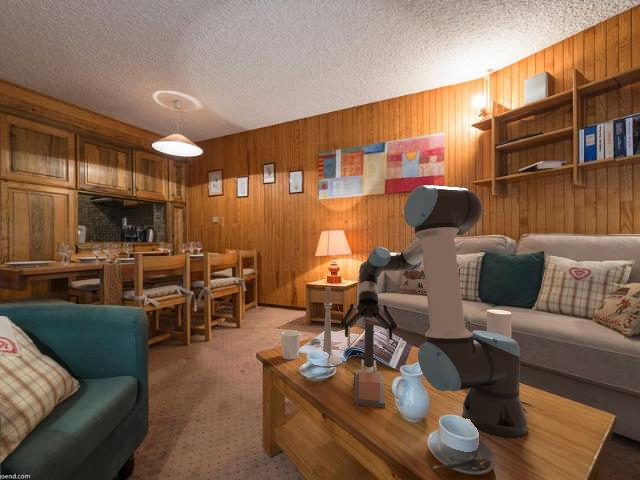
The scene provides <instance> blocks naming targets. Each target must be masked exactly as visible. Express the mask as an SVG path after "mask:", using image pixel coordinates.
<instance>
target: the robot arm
mask: <svg viewBox="0 0 640 480" xmlns="http://www.w3.org/2000/svg"><path fill="white" fill-rule="evenodd" d="M403 210H404V211H403V217H404V220H405V223H406V224H407V226H409V227H411V228H413V230H414V237H416V239H414V240H413V242H411V243H410V244H409V245H408V246H407V247H406V248H405V249H403V250H402V251H398V252H397V251H396V252H395V251H394V252H393V251H389V249H387V248H386V247H383V246H376V247H374V248H373V249H372V250H371V252H370V253H369V254H368V257H367V260H366V261H364V262H363V263H361V264H360V265H359V271H358V273H359V274H358V275H359V276H358V277H359V281H358V283H359V284H358V304H357V305H355V304H354V303H350V305H349V309H348V310H347V312H346V313H345V315H344V317H343V318H342V319H341V321H340V328H342V329H344V337H345V338H347V345H346V346H347V348H350V347H351V331H352V330H351V327H352V326H353V325H354V324H355V323H357V321H359V319H362V317H363V318H371V319H373V318H374V319H376V320H377V321H378V322H379V323H380V324H381V326H383V327H384V328H385V330H386V331H385V334H386V338H385V339H386V350H388V351H389V350H390V346H391V345H390V344H391V343H390V341H391V340H392V339H393V331H394V332H396V331H397V328H398V326H397V323H396V322H395V320H394V319H393V317H392V315H391V314H390V312H389V311H388V307H387V305H386V304H384V305H383V306H380V305H379V289H378V288H379V287H378V286H379V285H378V284H379V277H380V276H381V274H382V273H383V272H396V271H397V272H400V271H401V272H412V271H417V270H419V269H420V268H421V266H422V261H423V270H424V271H423V272H424V279H425V280H424V281H425V290H426V297H427V298H426V299H427V309H428V318H429V319H428V320H429V325H430V327H429V329H428V330H427V331H426V332H425V335H424V336H425V342H424V343H422V344H420V346H419V350H417V360H418V365H419V369H420V370H421V373H422V375H423V377H424V378H425V379H426V381H427V383H428V384H429V385H430V386H431V387H433V388H434V389H435V390H437V391H441V392H459V391H460V390H466V389H468V390H467V392H466V395H465V398H464V400H463V403H462V416H463V418H464V419H465V418H467V419H470V420H471V422H472V423H473V424H474V425H475V426H476V427H477V429H479V430H481V431H482V432H485V433H488V434H491V435H494V436H497V437H502V438H519V437H522V436H525V435H526V434H527V432H528V419H527V418H528V417H527V416H526V415H527V414H526V412H525V410H524V406H523V404H522V401H521V398H520V386H521V385H520V382H521V381H520V377H521V374H520V372H521V370H520V369H521V354H520V353H521V352H520V344H519V343H518V342H517V340H515V339H514V338H512V337H511V338H509V337H507V336H504V335H500V334H496V333H492V332H487V330H478V329H477V330H472V331H470V330H469V329H468V328H466V323H465V315H464V314H465V313H464V306H463V298H462V289H461V284H460V275H459V268H458V267H459V266H458V259H457V251H456V244H455V237H457V236H460V237H461V236H464V235H465V234H466V233H468V232H469V231H471V230H472V229H473V228H474V227H476V225H477V224H478V223H479V221H480V219H481V217H482V214H483V204H482V201H481V199H480V198H479V196H478V195H477V194H476V193H475V192H474V191H472V190H470V189H468V188H464V187H449V186H439V185H433V184H431V185H419V186H417V187H415V188H414V189H412V191H411V192H410V193H409V195H408V197H407V199H406V201H405V204H404V209H403ZM356 310H357V312H356ZM379 311H381V313H382V314H383V315H384V317H385V318H386V319H385V318H384V317H383V316H382V315H381V314H380V312H379ZM354 312H356V314H354V316H352V315H353V313H354ZM351 316H352V318H351ZM475 426H474V427H475ZM476 427H475V428H476Z"/></svg>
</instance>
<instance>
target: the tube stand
mask: <svg viewBox="0 0 640 480" xmlns="http://www.w3.org/2000/svg"><path fill="white" fill-rule="evenodd" d="M364 361H365V359H361V367H360V368H361V369H355V378H354V379H355V380H354V381H355V383H354V394H353V405H355V406H364V407H365V406H366V407H378V408H386V400H385V392H384V384H383V377H382V375H383V374H382V371H377V360H376V359H375V360H374V359H373V370H374V373H367V372H364Z"/></svg>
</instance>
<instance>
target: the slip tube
mask: <svg viewBox="0 0 640 480" xmlns="http://www.w3.org/2000/svg"><path fill="white" fill-rule="evenodd" d="M374 327H375V325H374V324H372V323H365V324H364V372H367V373H374V343H375V342H374V335H375V334H374V332H375V331H374Z"/></svg>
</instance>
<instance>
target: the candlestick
mask: <svg viewBox="0 0 640 480" xmlns="http://www.w3.org/2000/svg"><path fill="white" fill-rule="evenodd" d="M331 289H332V288H331V287H330V286H326V287H325V302H324V303H323V305H324V309H325V313H324V314H325V315H324V316H325V317H324V331H323V346H322V347H323V348H322V352H323V351H324V352H327V353H328V354H329V356H330V358H329V361H330V363H331V364H332V365H335V366H336V367H338V366H337V365H339V364H341V363H342V362H343V363H344V360H343V361H342V360H341V359H340V358H339V357H338V356H337V355H336V354H337V353H336V354H335V352H333V351H332V348H333V347H332V328H331V327H332V324H331V309H332V305H333V303H332V302H331V298H332V297H331V296H332V295H331ZM343 363H342V364H343ZM342 364H341V365H342ZM339 366H340V365H339Z"/></svg>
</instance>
